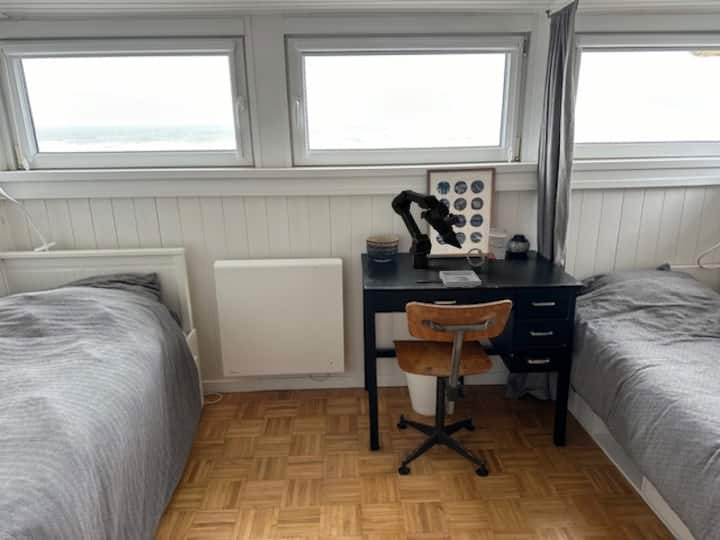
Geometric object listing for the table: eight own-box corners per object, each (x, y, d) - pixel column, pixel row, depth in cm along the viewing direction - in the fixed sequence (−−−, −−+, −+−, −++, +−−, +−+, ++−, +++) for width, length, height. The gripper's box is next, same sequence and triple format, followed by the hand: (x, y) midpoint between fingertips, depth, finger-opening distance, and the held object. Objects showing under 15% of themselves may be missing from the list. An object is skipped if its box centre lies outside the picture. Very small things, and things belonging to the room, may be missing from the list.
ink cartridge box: (486, 258, 243) (488, 229, 238) (487, 256, 247) (489, 227, 243) (504, 260, 240) (506, 230, 236) (505, 257, 244) (507, 228, 240)
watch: (485, 274, 219) (486, 250, 216) (467, 273, 220) (468, 250, 217) (483, 270, 225) (484, 247, 221) (465, 270, 225) (466, 247, 222)
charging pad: (418, 288, 202) (418, 282, 202) (413, 277, 216) (413, 271, 215) (481, 287, 203) (481, 281, 202) (472, 276, 217) (472, 270, 216)
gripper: (452, 212, 205) (477, 238, 208) (447, 204, 223) (470, 228, 226) (432, 231, 208) (457, 256, 211) (429, 221, 226) (452, 244, 229)
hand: (459, 245), depth 219 cm, fingers open, 9 cm apart
